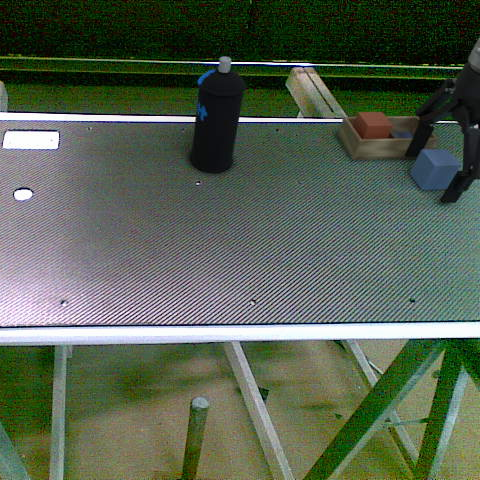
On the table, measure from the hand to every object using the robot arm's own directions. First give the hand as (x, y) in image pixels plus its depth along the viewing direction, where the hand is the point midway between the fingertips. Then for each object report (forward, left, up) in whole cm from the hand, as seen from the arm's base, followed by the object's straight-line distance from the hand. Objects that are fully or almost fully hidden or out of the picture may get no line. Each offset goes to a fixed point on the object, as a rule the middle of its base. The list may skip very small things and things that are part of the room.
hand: (428, 177), depth 88 cm
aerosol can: (+40, -8, -1) cm, 41 cm away
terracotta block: (+8, -12, 0) cm, 14 cm away
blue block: (0, 0, -1) cm, 1 cm away
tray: (+4, -12, -1) cm, 12 cm away
